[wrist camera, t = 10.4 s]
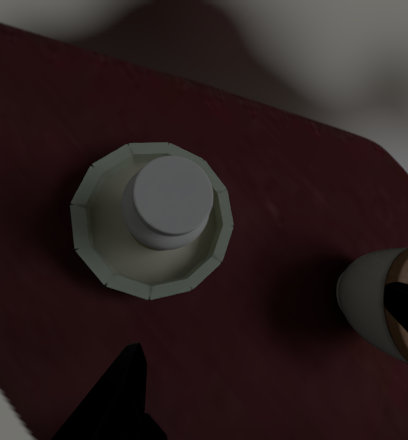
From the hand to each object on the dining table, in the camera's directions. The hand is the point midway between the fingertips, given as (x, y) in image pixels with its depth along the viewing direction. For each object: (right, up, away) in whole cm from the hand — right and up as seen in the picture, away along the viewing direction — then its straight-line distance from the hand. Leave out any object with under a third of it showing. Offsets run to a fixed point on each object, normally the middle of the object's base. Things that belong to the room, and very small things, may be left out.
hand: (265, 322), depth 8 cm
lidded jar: (+16, -5, +18) cm, 25 cm away
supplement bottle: (-6, +3, +12) cm, 14 cm away
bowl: (-7, +4, +13) cm, 15 cm away
